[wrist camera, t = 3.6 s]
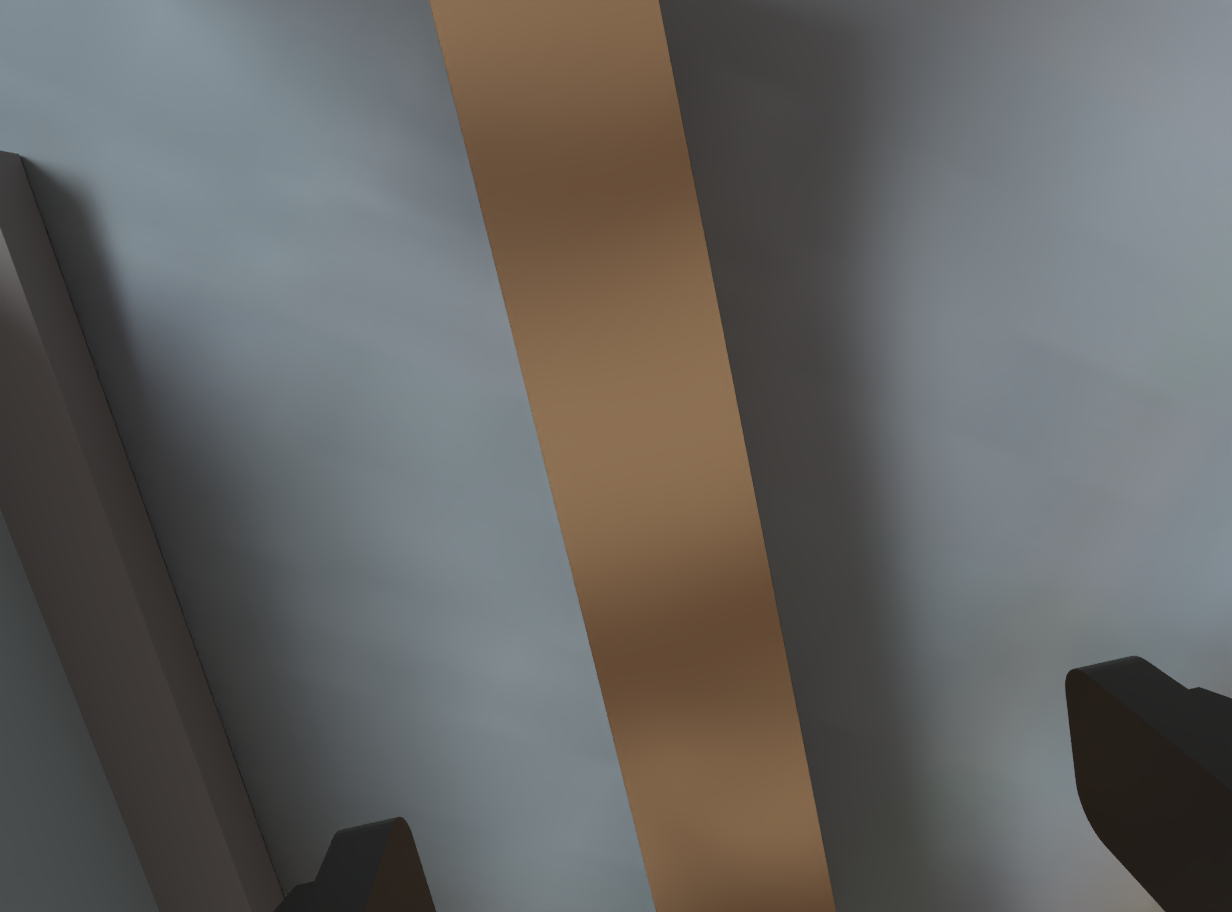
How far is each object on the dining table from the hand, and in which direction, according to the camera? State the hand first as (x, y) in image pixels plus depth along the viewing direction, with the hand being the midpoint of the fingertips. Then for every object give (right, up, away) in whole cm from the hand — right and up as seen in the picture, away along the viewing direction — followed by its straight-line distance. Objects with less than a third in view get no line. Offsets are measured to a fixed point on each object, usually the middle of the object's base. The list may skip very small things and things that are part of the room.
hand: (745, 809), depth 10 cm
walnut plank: (-1, +2, +10) cm, 11 cm away
